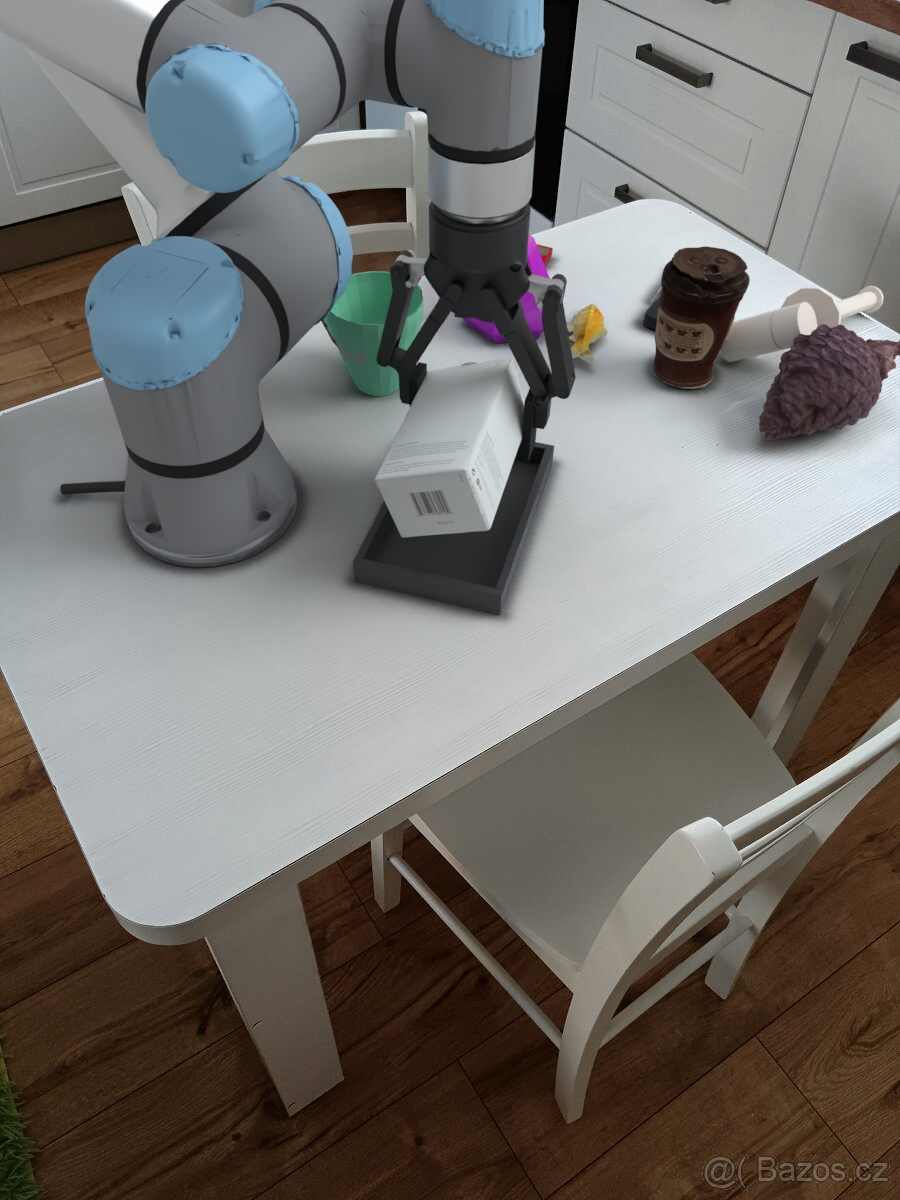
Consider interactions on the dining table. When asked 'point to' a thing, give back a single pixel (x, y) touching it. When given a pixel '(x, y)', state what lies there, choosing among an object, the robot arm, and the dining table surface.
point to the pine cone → (826, 382)
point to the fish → (586, 331)
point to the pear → (527, 301)
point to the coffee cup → (696, 313)
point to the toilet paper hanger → (794, 321)
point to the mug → (369, 329)
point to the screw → (656, 294)
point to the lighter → (545, 253)
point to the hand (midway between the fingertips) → (473, 441)
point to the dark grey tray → (459, 547)
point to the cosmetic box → (454, 450)
